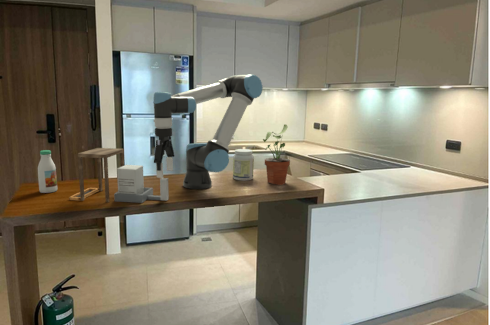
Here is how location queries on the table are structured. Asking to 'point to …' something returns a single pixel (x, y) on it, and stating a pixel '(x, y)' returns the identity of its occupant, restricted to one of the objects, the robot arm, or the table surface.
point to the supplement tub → (243, 164)
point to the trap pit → (86, 193)
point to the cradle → (145, 194)
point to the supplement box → (130, 179)
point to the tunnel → (98, 154)
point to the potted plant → (277, 162)
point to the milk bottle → (47, 173)
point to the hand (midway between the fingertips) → (165, 174)
